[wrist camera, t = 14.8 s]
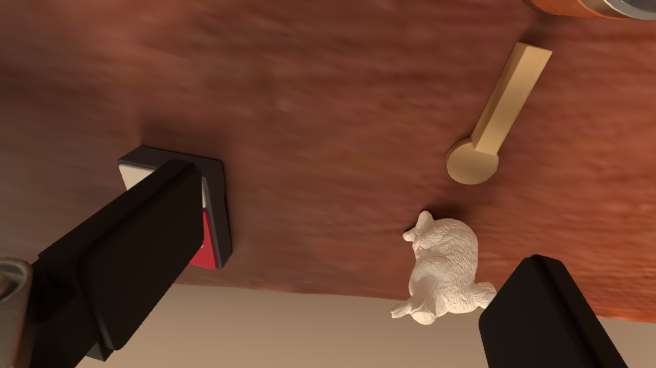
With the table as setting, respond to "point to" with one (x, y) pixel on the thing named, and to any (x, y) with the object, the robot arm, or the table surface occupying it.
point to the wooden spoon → (497, 116)
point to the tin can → (598, 8)
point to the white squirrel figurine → (443, 271)
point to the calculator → (213, 189)
